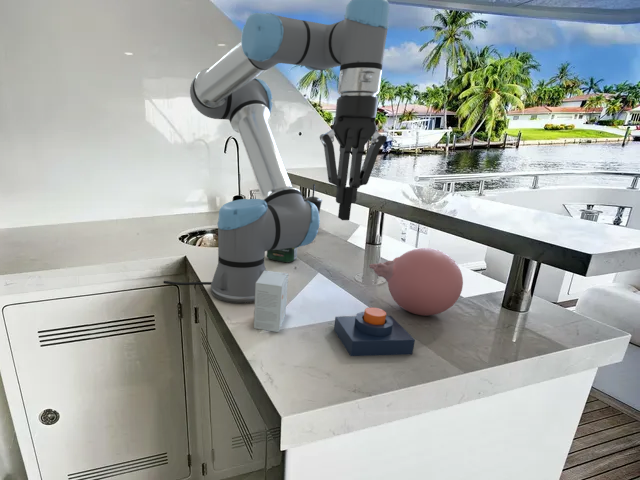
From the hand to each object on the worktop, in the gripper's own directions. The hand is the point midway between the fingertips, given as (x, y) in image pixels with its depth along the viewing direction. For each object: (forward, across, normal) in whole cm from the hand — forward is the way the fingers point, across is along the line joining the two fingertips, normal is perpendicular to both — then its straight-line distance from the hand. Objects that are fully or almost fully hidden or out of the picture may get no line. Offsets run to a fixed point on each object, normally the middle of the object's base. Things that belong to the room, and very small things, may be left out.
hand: (343, 218), depth 79 cm
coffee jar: (+23, -4, +41) cm, 47 cm away
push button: (+22, +4, -12) cm, 26 cm away
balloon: (+23, +19, +2) cm, 30 cm away
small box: (+23, -15, -3) cm, 27 cm away
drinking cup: (+23, +15, +77) cm, 82 cm away
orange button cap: (+18, +4, -12) cm, 22 cm away
